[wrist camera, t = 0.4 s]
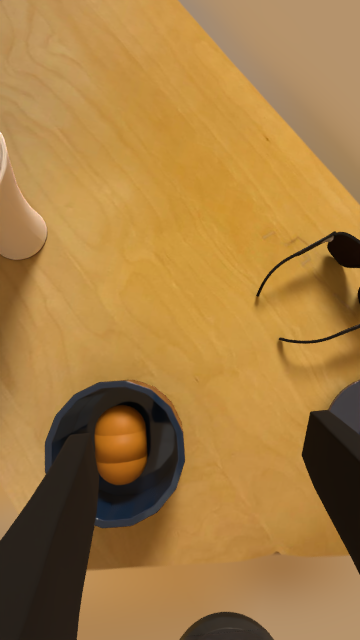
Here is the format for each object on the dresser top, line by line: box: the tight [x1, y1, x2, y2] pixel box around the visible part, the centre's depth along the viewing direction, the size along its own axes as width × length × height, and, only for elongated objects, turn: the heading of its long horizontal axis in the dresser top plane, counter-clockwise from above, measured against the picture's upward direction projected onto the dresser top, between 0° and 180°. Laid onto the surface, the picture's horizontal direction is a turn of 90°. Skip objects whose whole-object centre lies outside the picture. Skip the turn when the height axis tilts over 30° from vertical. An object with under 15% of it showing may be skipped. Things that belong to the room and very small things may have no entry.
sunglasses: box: [256, 231, 360, 344], centre depth 36 cm, size 10×12×5 cm
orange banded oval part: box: [95, 405, 147, 485], centre depth 32 cm, size 7×5×5 cm
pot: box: [45, 380, 185, 528], centre depth 32 cm, size 12×12×6 cm
